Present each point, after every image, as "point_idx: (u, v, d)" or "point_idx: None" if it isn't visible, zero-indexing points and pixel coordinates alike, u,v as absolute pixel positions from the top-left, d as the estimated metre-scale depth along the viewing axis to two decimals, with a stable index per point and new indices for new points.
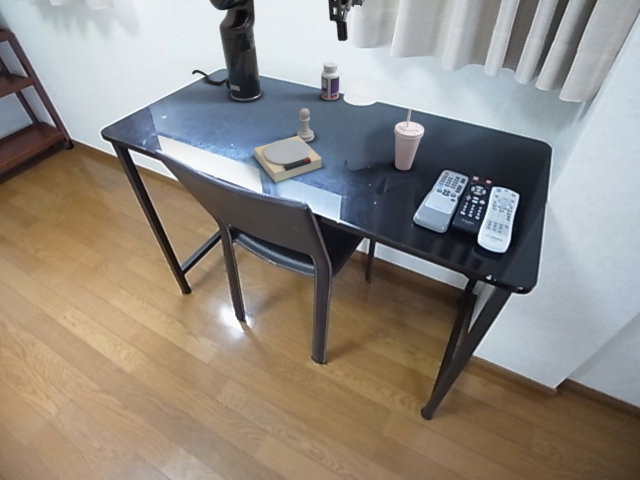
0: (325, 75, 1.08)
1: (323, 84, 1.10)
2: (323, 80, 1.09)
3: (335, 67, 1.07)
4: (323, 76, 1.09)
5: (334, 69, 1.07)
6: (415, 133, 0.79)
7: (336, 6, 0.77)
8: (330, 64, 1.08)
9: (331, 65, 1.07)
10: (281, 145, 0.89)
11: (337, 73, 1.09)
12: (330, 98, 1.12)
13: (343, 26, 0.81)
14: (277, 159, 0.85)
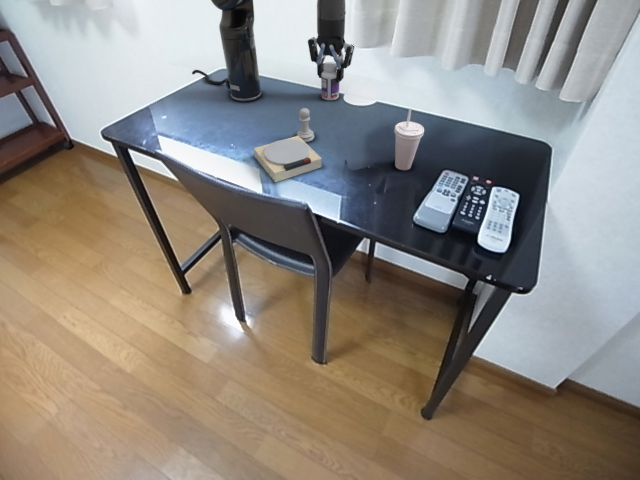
0: (325, 75, 1.08)
1: (323, 84, 1.10)
2: (323, 80, 1.09)
3: (335, 67, 1.07)
4: (323, 76, 1.09)
5: (334, 69, 1.07)
6: (415, 133, 0.79)
7: (351, 57, 1.04)
8: (330, 64, 1.08)
9: (331, 65, 1.07)
10: (281, 145, 0.89)
11: None
12: (330, 98, 1.12)
13: None
14: (277, 159, 0.85)
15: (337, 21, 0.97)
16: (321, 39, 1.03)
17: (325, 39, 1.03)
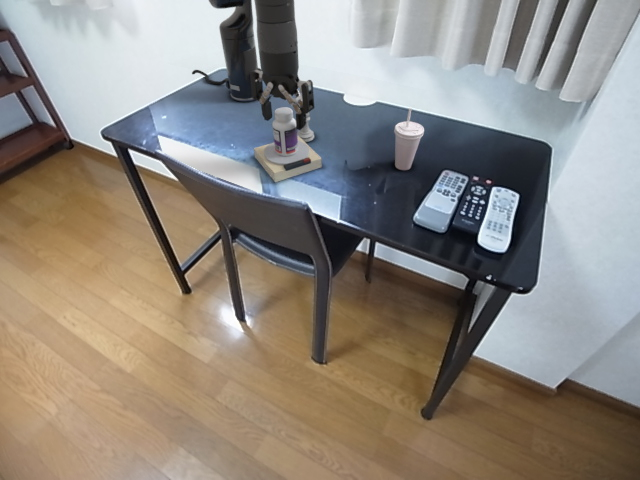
0: (277, 126, 0.81)
1: (275, 136, 0.83)
2: (275, 131, 0.82)
3: (289, 115, 0.80)
4: (274, 127, 0.81)
5: (288, 118, 0.80)
6: (415, 133, 0.79)
7: (312, 97, 0.75)
8: (283, 111, 0.80)
9: (284, 113, 0.80)
10: None
11: (293, 123, 0.81)
12: (286, 154, 0.85)
13: None
14: (277, 159, 0.85)
15: (285, 55, 0.69)
16: (268, 77, 0.75)
17: (273, 77, 0.75)
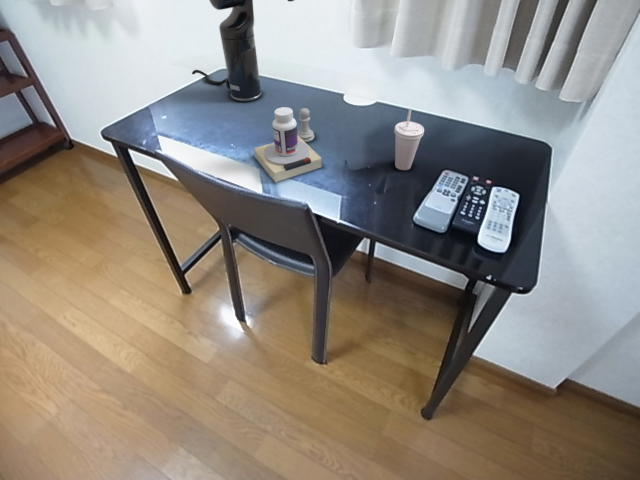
0: (277, 126, 0.81)
1: (275, 136, 0.83)
2: (275, 131, 0.82)
3: (289, 115, 0.80)
4: (274, 127, 0.81)
5: (288, 118, 0.80)
6: (415, 133, 0.79)
7: None
8: (283, 111, 0.80)
9: (284, 113, 0.80)
10: None
11: (293, 123, 0.81)
12: (286, 154, 0.85)
13: None
14: (277, 159, 0.85)
15: None
16: None
17: None
